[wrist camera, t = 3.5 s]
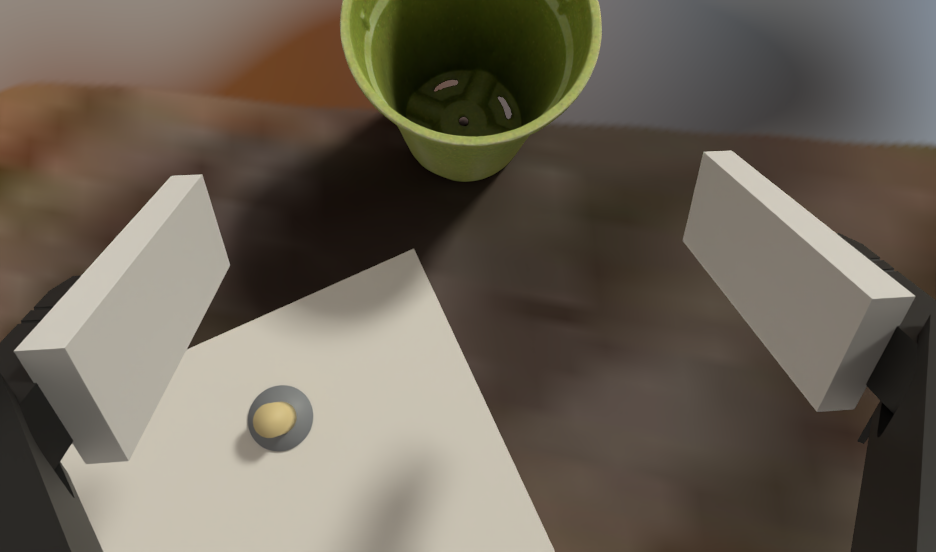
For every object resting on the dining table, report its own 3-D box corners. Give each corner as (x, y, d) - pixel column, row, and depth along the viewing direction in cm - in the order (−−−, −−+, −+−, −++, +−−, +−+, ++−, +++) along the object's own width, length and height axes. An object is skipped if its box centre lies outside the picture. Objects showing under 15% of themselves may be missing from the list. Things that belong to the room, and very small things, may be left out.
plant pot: (587, 170, 28) (648, 79, 20) (418, 246, 27) (405, 185, 19) (506, 19, 29) (530, -127, 21) (342, 86, 28) (298, -40, 20)
